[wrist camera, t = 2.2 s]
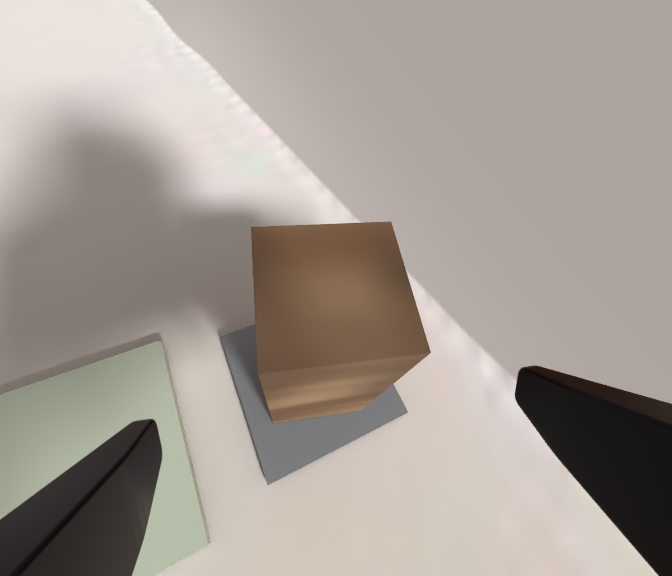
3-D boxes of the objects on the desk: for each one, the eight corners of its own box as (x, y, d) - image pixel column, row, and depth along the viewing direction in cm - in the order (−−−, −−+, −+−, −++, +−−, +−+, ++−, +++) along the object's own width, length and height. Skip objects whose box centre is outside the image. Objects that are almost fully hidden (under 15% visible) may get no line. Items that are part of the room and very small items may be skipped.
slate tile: (405, 413, 18) (408, 412, 18) (268, 484, 16) (267, 485, 15) (344, 295, 21) (345, 292, 21) (221, 339, 19) (220, 336, 18)
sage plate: (210, 542, 14) (208, 544, 14) (-82, 702, 11) (-97, 711, 11) (163, 343, 18) (160, 339, 18) (-63, 420, 15) (-74, 419, 15)
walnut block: (360, 410, 18) (430, 352, 9) (273, 423, 17) (258, 373, 8) (345, 331, 20) (390, 221, 11) (268, 339, 19) (251, 227, 10)
